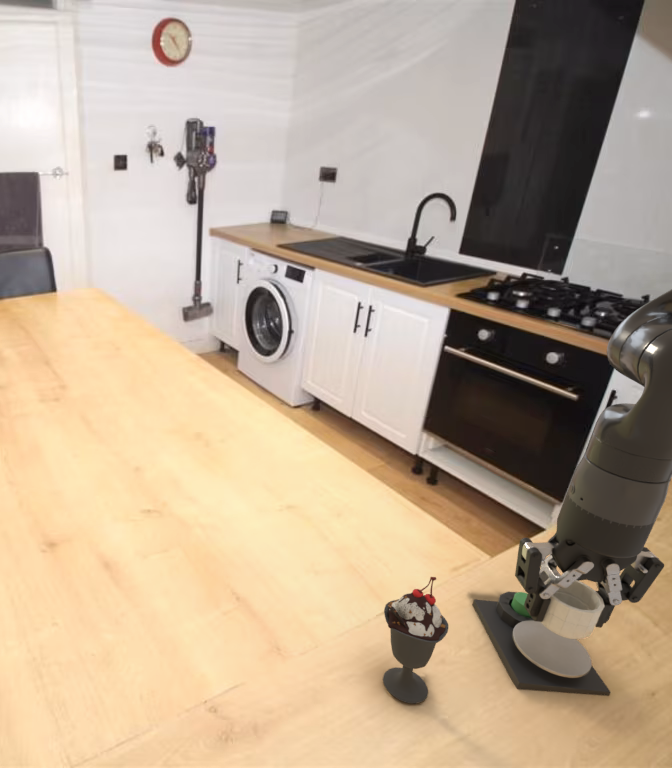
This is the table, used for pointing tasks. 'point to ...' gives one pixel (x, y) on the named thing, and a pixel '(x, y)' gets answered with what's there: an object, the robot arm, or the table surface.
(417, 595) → the sundae
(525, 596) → the tare button
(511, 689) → the table surface
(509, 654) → the scale
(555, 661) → the scale pan
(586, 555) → the robot arm
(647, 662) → the table surface
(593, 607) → the bowl
